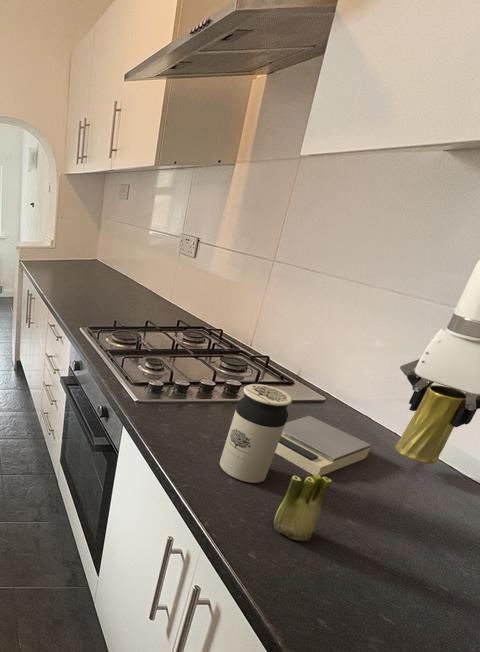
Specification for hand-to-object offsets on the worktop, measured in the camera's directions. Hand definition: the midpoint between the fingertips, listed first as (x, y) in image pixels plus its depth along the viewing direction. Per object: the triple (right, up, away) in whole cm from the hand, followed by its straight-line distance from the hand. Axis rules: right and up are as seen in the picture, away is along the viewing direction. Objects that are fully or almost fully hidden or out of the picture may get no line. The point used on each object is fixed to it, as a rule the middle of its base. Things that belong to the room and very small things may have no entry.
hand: (436, 416), depth 79 cm
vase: (0, -8, +4) cm, 9 cm away
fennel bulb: (-35, -18, -9) cm, 41 cm away
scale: (-15, -9, +11) cm, 21 cm away
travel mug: (-34, -12, +5) cm, 36 cm away
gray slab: (-13, -6, +10) cm, 18 cm away
